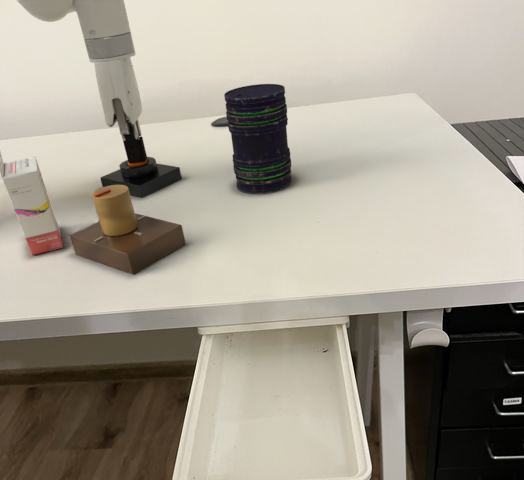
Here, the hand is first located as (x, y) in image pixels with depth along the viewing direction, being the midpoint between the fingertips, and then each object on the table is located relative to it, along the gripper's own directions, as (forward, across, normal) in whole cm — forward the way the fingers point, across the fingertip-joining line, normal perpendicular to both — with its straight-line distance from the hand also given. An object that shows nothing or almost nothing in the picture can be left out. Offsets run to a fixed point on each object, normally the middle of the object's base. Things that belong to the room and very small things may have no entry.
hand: (138, 161), depth 100 cm
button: (+2, 0, 0) cm, 2 cm away
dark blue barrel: (+4, +7, +22) cm, 24 cm away
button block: (+4, 0, 0) cm, 4 cm away
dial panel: (+4, +28, +2) cm, 29 cm away
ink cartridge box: (+4, +22, -12) cm, 25 cm away
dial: (+1, +28, +1) cm, 28 cm away
